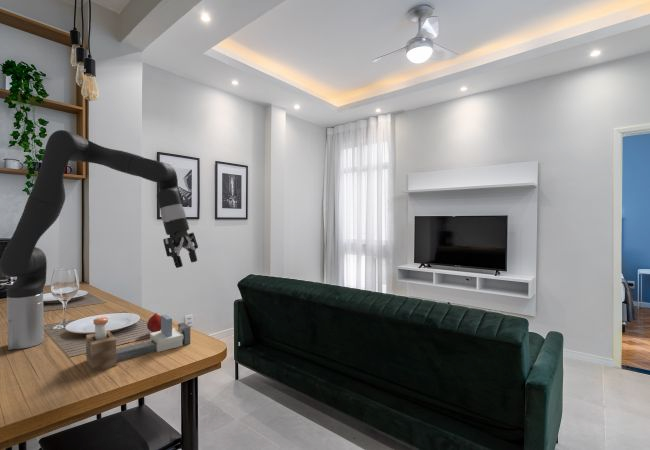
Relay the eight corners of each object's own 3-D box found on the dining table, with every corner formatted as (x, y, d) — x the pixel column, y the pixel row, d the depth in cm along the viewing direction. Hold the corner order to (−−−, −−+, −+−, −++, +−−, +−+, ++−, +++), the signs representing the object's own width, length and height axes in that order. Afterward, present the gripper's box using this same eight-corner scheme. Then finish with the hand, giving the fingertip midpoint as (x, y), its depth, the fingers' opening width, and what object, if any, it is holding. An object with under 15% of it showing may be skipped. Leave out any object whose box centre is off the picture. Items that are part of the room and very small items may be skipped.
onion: (143, 334, 125) (143, 313, 125) (157, 329, 130) (157, 309, 130) (153, 337, 122) (153, 316, 122) (167, 332, 128) (167, 311, 127)
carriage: (158, 352, 109) (158, 322, 108) (149, 344, 115) (149, 316, 115) (183, 346, 114) (183, 317, 114) (173, 338, 121) (173, 311, 120)
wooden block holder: (92, 371, 96) (92, 344, 96) (86, 360, 103) (86, 334, 103) (116, 365, 100) (116, 339, 100) (109, 354, 107) (108, 330, 107)
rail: (114, 363, 102) (114, 343, 101) (110, 356, 106) (110, 338, 106) (190, 343, 117) (190, 326, 117) (183, 338, 122) (183, 322, 122)
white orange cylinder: (95, 348, 99) (94, 322, 99) (92, 344, 102) (92, 319, 101) (109, 345, 101) (108, 319, 101) (106, 341, 104) (106, 316, 104)
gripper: (178, 220, 122) (190, 262, 123) (150, 223, 109) (164, 271, 109) (195, 215, 121) (207, 258, 122) (170, 218, 107) (183, 266, 108)
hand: (187, 264), depth 115 cm, fingers open, 8 cm apart
